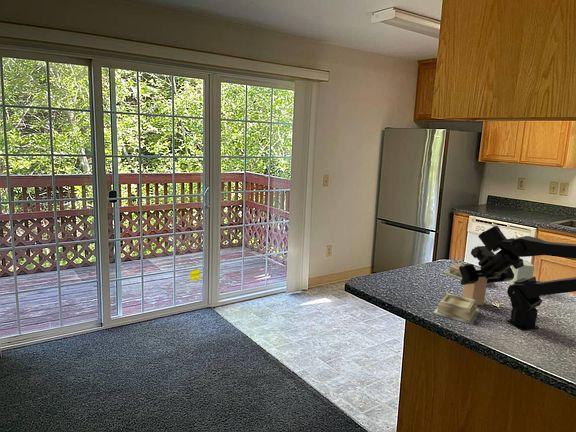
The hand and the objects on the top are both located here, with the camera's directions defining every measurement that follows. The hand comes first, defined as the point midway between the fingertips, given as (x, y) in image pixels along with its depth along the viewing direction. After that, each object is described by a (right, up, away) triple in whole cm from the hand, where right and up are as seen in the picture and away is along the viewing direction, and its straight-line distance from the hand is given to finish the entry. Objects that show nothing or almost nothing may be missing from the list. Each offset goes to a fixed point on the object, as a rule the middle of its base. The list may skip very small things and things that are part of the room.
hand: (472, 282), depth 150 cm
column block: (0, -7, 0) cm, 7 cm away
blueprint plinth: (-9, -8, -10) cm, 16 cm away
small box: (+25, -5, +17) cm, 31 cm away
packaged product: (+9, -3, +25) cm, 27 cm away
